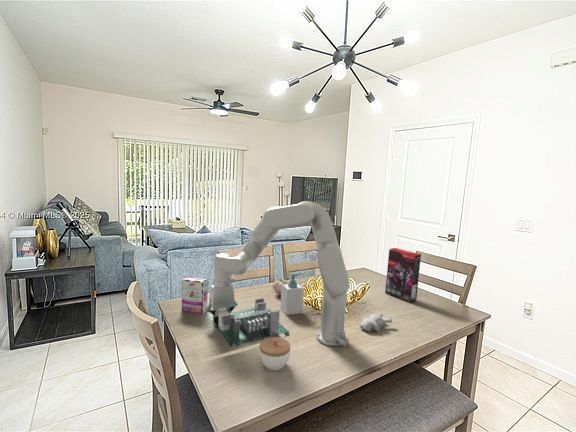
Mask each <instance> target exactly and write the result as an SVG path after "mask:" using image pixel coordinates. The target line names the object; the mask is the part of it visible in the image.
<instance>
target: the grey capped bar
mask: <svg viewBox="0 0 576 432" xmlns="http://www.w3.org/2000/svg"><path fill="white" fill-rule="evenodd" d="M268 312H272V310H271V309H270V308H268V309H266V310H262V311H257V312H252V313H247V314H242V315H237V316H232V315H228V316H223V317H222V319H221V323H222V324H223V325H224V326H225V325H230V324H234V321H236V320H244V319H249V318H254V317H258V316H263V315H267V313H268Z"/></svg>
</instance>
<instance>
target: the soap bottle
mask: <svg viewBox="0 0 576 432" xmlns="http://www.w3.org/2000/svg"><path fill="white" fill-rule="evenodd" d="M288 274H289V275H290V277H291V279H290V280H289V282H288V283H282V284H281V295H280V306H279V308H280V309H281V310H282V312H283V313H284V314H285V315H286V316H289V315H296V314H297V315H298V314H303V313H304V312H303V309H304V293H305V287H303V286H302V285H301V284H300V283H298V282H297V280H296V279H295V277H297V276H300V275H302V272H294V273H293V272H292V273H288Z"/></svg>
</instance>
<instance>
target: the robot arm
mask: <svg viewBox="0 0 576 432" xmlns="http://www.w3.org/2000/svg"><path fill="white" fill-rule="evenodd" d="M332 221H333V220H332V219H331V216H330V215H329V213H328V211H327V210H326V208H324V207H323V206H322V205H320V204H319V203H316V202H313V201H309V200H303V201H300V202H298V203H297V204H291V205H285V206H280V205H273V206H271V207H269V208H268V209H266V210H265V211H264V213H263V215H262V218H261V220H260V221H259V222H258V224H257V225H256V226H255V228H253V230H252V232H251V233H250V237H249V239H248V241H247V243H246V244H245V245H244V247H243V248H242V249H241V251H239V253H238V254H236V255H235V256H232V255H231V254H229V253H226V252H225V253H223V252H221V253H217V254H215V255H214V257H213V284H212V285H211V286H210V292H209V297H208V299H209V300H208V301H209V302H208V304H207V308H206V312H207V313H210V314H211V315H212V316H213V315H214V323H215V324H216V325H218V310H219V309H226V310H227V311H228V312H229V313H230V314H231V313H232V312H233V310H234V309H235V308H236V307H237V306H238V302H237V301H235V291H234V284H233V282H235V281H236V280H235V278H232V275H235V276H241V275H243V274H245V273H246V272H247V271H248V269H249V268H250V267H251V266H252V265H253V263H254V262H255V261H256V260H257V259H258V257H259V256H260V254H261V253H262V252H263V251H264V250H265V249H266V248H267V247H268V246H269V244H270V243H271V241H273V239H274V238H275V237H276V235H277V234H278V233H279V231H280V230H287V229H292V228H298V227H300V228H301V227H303V226H307V225H310V227H311V230H312V235H313V237H314V240H315V244H316V257H315V258H316V263H317V266H318V270H319V272H320V277H321V280H322V283H323V288H322V289H323V291H322V303H321V318H320V329H319V330H318V331H317V332H316V336H315V337H316V339H317V341H318V342H320V343H321V344H323V345H325V346H329V347H330V346H331V347H340V346H344V347H345V346H346V345H347V343H348V342H349V340H350V339H349V338H348V336H347V335H346V331H345V318H346V307H347V306H346V305H347V294H348V290H349V288H350V281H349V279H350V278H349V274H348V271H347V269H346V264H345V261H344V257H343V254H342V249H341V247H340V244H339V241H338V238H337V235H336V231H335V228H334V224H333V222H332ZM214 323H213V324H214Z"/></svg>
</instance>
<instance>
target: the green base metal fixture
mask: <svg viewBox="0 0 576 432" xmlns="http://www.w3.org/2000/svg"><path fill="white" fill-rule="evenodd" d="M266 307H267V302H266V301H265V299H264V297H259V298H255V299H254V308H250V309H244V310H240V311H235V312H233V311H232V312H231V315H232V316H237V315H242V314H247V313H252V312H257V311H262V310H267V309H266ZM271 311H272V310H271ZM209 319H210V321H211V322H212V323H213V325H214V326H215V327H216V329H217V330H218V332H219V333H220V334H221V336H222V337H223V338H224V340H225V341H226V343H227V344H228V346H229V347H230V348H233V347H236V346H240V345H244V344H248V343H251V342H255V341H259V340H262V339H263V340H264V339H266V338H269V337H276V336H278V335H282V334H283V335H284V336H287V335H290V331H289V330H288V329H287V328H286V327H285V326H284V325H282V324H281V323H280V310H279V309H278V310H277V309H276V310H273V311H272V312H268V313H267V315H263V316H258V317H254V318H249V319H244V320H236V321H234V324H230V325H229V330H224V331H222V330H221V329H220V328H219V326H218V325H216V324H215V323H214V320H213V316H209Z"/></svg>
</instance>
